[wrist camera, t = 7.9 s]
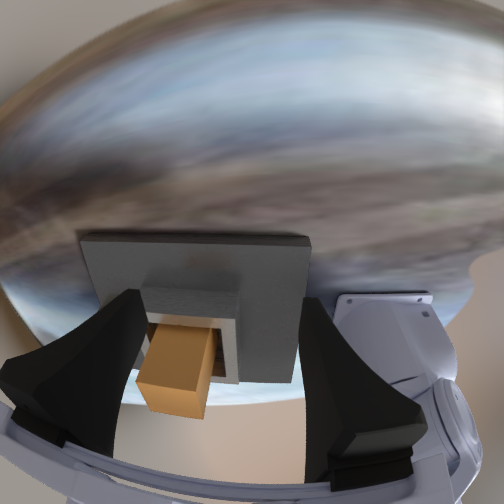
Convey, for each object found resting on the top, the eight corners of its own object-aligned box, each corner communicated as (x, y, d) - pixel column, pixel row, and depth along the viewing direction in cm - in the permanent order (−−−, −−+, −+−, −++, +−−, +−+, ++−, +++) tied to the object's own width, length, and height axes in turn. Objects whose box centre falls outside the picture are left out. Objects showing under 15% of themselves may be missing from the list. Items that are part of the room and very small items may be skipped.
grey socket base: (308, 236, 21) (317, 271, 17) (290, 372, 28) (291, 407, 25) (88, 233, 21) (59, 260, 18) (131, 358, 29) (119, 388, 25)
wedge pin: (215, 307, 22) (195, 391, 15) (218, 341, 24) (203, 419, 17) (167, 303, 23) (135, 381, 16) (174, 336, 25) (150, 410, 18)
